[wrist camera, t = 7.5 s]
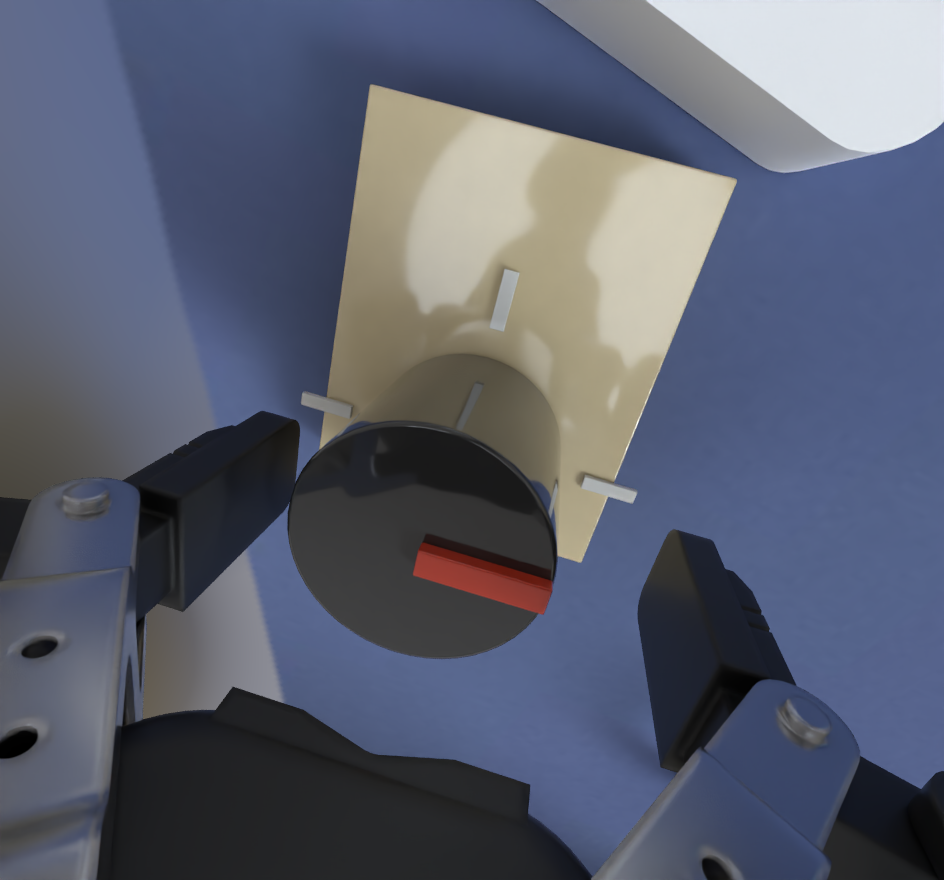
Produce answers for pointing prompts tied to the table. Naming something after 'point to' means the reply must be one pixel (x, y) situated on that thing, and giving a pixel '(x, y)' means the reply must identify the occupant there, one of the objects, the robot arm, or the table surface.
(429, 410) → the hob knob
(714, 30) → the bracket
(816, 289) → the table surface
